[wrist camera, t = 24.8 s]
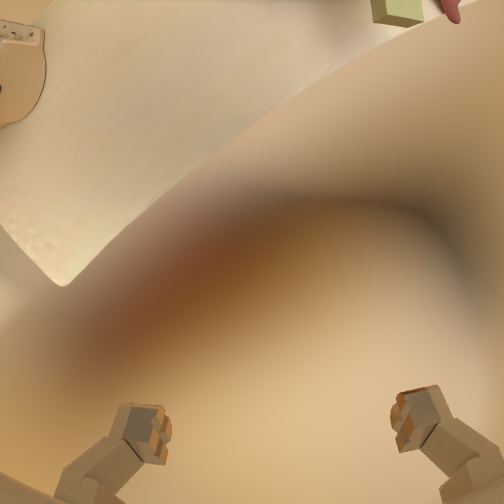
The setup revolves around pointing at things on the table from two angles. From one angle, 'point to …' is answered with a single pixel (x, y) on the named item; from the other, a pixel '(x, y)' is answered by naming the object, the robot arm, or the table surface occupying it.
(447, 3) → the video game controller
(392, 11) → the bar
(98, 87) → the table surface
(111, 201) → the table surface
